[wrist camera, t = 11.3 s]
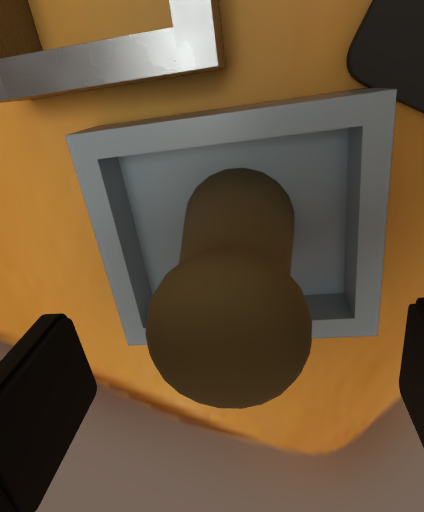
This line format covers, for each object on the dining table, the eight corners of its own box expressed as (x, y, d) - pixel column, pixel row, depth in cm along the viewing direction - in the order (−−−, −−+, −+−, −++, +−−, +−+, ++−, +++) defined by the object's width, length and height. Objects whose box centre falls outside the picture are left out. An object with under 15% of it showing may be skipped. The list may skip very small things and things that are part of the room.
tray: (370, 87, 17) (396, 89, 14) (360, 299, 22) (377, 335, 19) (95, 126, 19) (65, 135, 16) (144, 311, 24) (128, 345, 21)
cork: (265, 285, 21) (275, 463, 11) (170, 247, 21) (96, 399, 11) (315, 194, 18) (384, 326, 9) (207, 148, 18) (152, 233, 8)
